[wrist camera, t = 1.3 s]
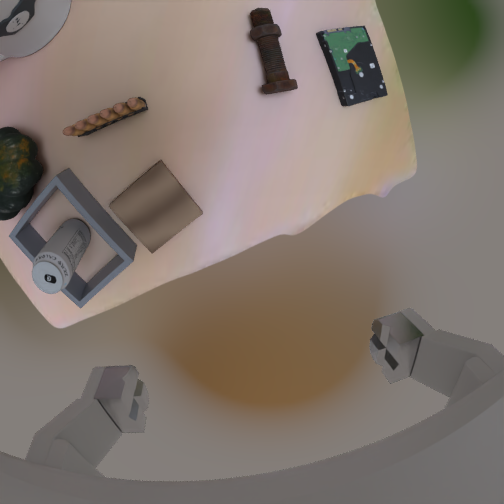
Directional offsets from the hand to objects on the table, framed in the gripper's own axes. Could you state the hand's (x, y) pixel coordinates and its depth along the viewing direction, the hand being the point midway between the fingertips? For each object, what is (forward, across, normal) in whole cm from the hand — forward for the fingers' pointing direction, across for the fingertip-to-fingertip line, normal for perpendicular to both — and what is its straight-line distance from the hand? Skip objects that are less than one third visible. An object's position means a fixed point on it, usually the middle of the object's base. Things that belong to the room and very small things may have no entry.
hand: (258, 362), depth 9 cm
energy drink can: (+38, +26, +2) cm, 46 cm away
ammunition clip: (+37, +15, -15) cm, 43 cm away
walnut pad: (+39, +11, +1) cm, 41 cm away
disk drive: (+42, -26, -20) cm, 54 cm away
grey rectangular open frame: (+38, +26, +2) cm, 46 cm away
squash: (+35, +35, -13) cm, 51 cm away
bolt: (+39, -10, -22) cm, 46 cm away
